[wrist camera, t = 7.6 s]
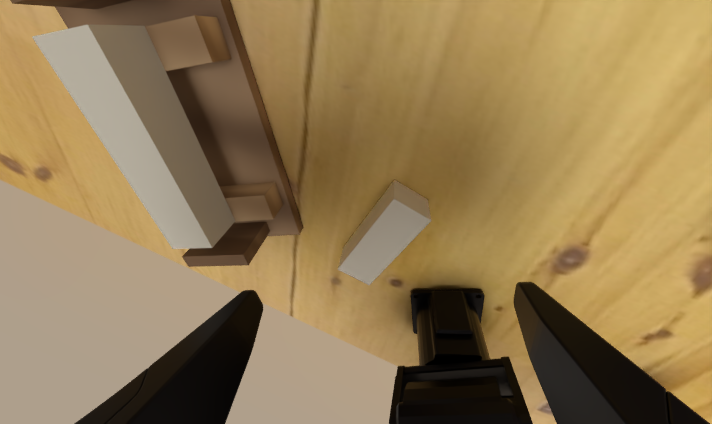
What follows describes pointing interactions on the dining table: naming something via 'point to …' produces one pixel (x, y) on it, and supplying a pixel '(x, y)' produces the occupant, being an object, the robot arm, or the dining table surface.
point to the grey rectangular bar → (141, 127)
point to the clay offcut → (384, 233)
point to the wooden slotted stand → (211, 111)
